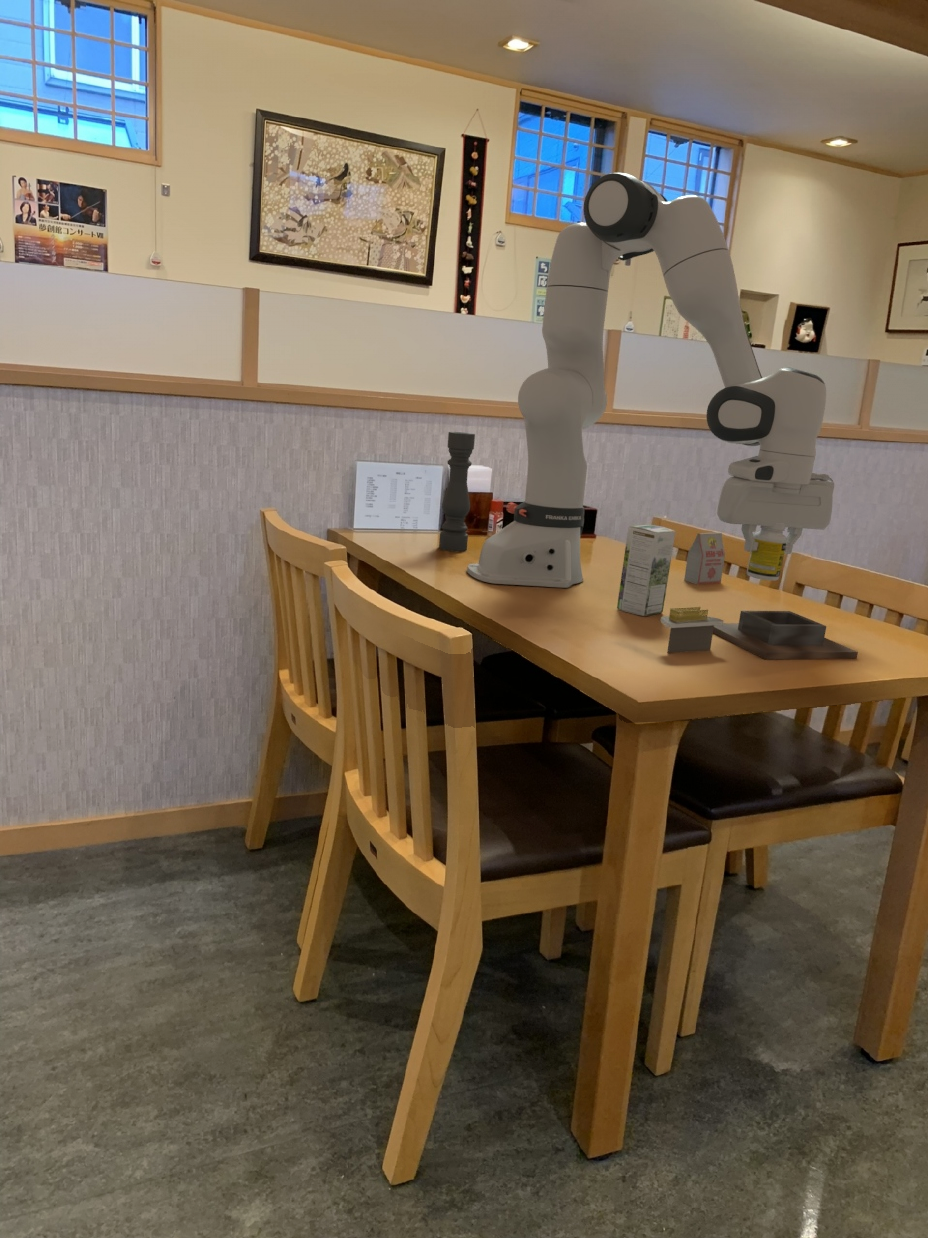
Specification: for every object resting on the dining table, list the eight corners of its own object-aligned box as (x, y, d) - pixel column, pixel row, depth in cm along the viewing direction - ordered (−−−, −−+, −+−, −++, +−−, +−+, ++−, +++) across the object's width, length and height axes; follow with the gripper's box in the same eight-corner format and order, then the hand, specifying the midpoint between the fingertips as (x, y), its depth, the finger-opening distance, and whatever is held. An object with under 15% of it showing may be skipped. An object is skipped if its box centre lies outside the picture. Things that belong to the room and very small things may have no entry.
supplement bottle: (781, 582, 150) (792, 525, 147) (747, 578, 151) (758, 520, 148) (776, 576, 155) (787, 520, 152) (744, 572, 156) (755, 516, 153)
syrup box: (635, 606, 156) (646, 523, 152) (664, 613, 152) (676, 529, 148) (616, 609, 152) (626, 524, 148) (645, 617, 148) (656, 530, 144)
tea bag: (684, 580, 183) (691, 531, 180) (707, 578, 186) (714, 531, 184) (697, 584, 180) (704, 535, 177) (720, 582, 183) (728, 534, 181)
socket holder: (764, 659, 129) (769, 632, 128) (705, 629, 144) (709, 604, 142) (856, 658, 133) (861, 632, 132) (790, 629, 148) (794, 605, 147)
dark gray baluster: (437, 545, 199) (446, 431, 193) (465, 547, 200) (474, 433, 194) (440, 550, 193) (448, 432, 187) (468, 552, 194) (478, 434, 188)
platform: (610, 644, 132) (615, 601, 130) (704, 637, 140) (710, 596, 138) (662, 669, 122) (668, 622, 120) (760, 660, 130) (767, 616, 128)
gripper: (823, 472, 154) (807, 551, 158) (720, 463, 148) (705, 545, 152) (848, 477, 148) (830, 559, 152) (741, 468, 142) (726, 553, 146)
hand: (767, 552), depth 152 cm, fingers closed on supplement bottle, 5 cm apart
